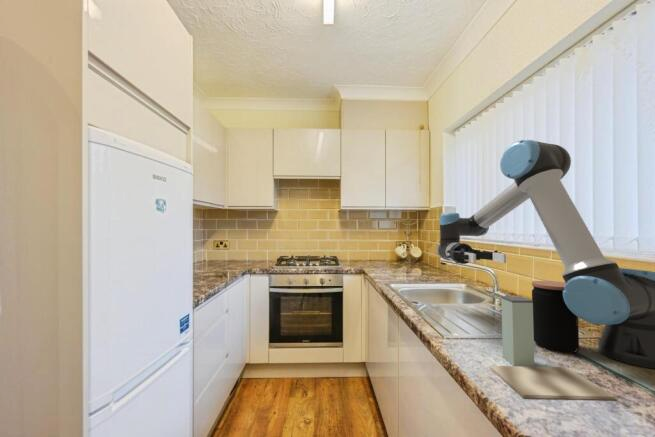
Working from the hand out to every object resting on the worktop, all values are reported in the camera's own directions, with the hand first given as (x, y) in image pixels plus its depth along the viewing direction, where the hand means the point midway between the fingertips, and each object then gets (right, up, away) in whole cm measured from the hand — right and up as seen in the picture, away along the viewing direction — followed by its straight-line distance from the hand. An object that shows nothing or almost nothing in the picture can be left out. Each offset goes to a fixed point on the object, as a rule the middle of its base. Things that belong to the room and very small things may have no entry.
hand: (489, 258), depth 91 cm
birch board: (-1, -24, -25) cm, 35 cm away
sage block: (0, -24, -14) cm, 28 cm away
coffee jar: (+17, -25, -4) cm, 30 cm away
